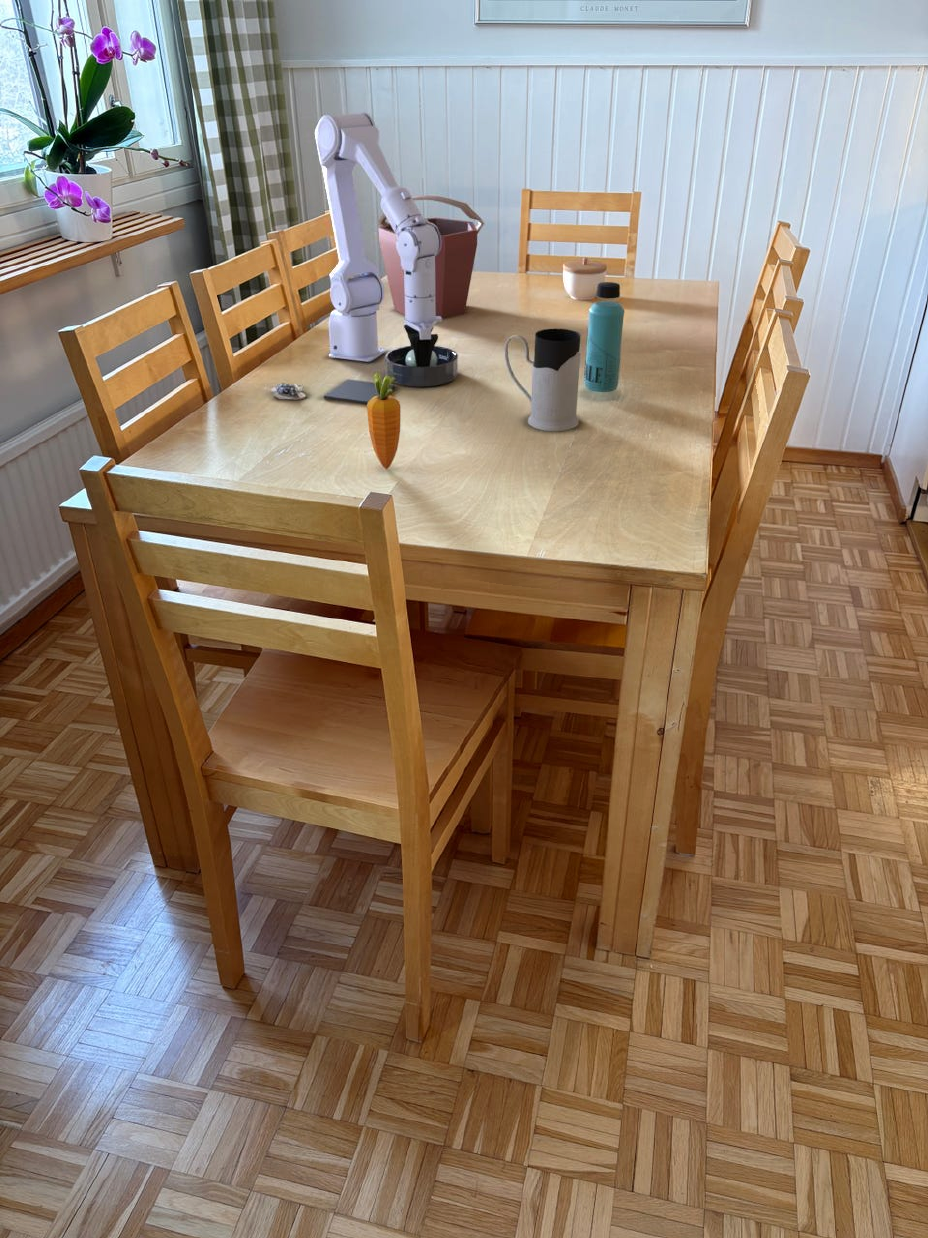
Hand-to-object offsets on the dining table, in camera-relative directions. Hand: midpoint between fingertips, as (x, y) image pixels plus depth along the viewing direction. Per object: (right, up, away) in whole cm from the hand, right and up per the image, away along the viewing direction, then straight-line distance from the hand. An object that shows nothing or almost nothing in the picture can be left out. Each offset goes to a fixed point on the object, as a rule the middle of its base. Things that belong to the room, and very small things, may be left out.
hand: (421, 366), depth 181 cm
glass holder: (+21, -14, -18) cm, 31 cm away
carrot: (-4, -26, -36) cm, 45 cm away
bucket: (0, +25, +42) cm, 49 cm away
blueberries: (-24, -7, -7) cm, 26 cm away
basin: (0, -2, +1) cm, 2 cm away
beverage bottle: (+34, -7, -8) cm, 35 cm away
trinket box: (+38, +31, +53) cm, 72 cm away
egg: (0, +1, -1) cm, 1 cm away
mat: (-11, -7, -7) cm, 15 cm away
